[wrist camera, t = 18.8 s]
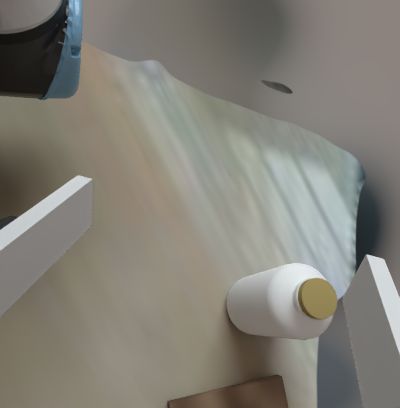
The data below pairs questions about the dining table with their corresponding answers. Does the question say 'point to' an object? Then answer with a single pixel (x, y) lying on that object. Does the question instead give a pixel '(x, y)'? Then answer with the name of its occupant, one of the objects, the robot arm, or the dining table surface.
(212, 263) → the dining table surface
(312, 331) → the potion bottle
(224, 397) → the socket
